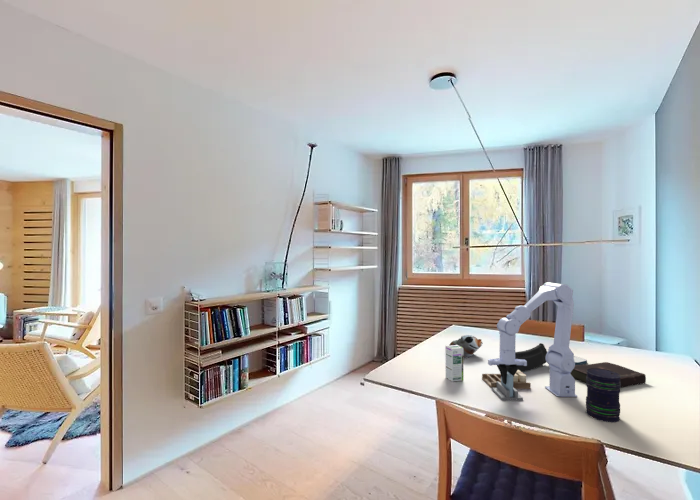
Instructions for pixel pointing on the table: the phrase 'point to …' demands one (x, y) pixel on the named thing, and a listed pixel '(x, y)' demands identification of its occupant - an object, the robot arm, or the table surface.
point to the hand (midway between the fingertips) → (506, 383)
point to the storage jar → (603, 395)
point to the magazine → (532, 357)
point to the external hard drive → (578, 360)
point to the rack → (493, 378)
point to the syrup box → (454, 362)
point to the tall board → (509, 383)
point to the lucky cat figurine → (468, 344)
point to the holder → (506, 393)
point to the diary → (626, 375)
